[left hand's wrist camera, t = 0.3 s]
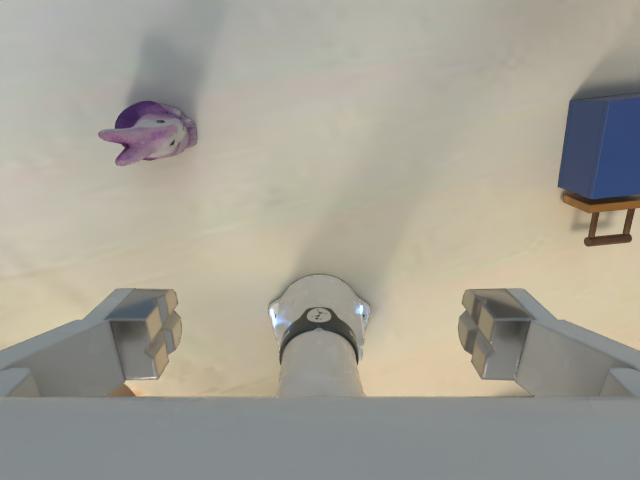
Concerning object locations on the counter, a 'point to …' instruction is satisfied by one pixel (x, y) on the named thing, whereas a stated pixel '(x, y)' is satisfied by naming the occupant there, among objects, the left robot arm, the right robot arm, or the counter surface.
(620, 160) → the blue square-sided box
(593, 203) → the wooden drawer
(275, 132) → the counter surface
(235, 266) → the counter surface
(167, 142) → the figurine
